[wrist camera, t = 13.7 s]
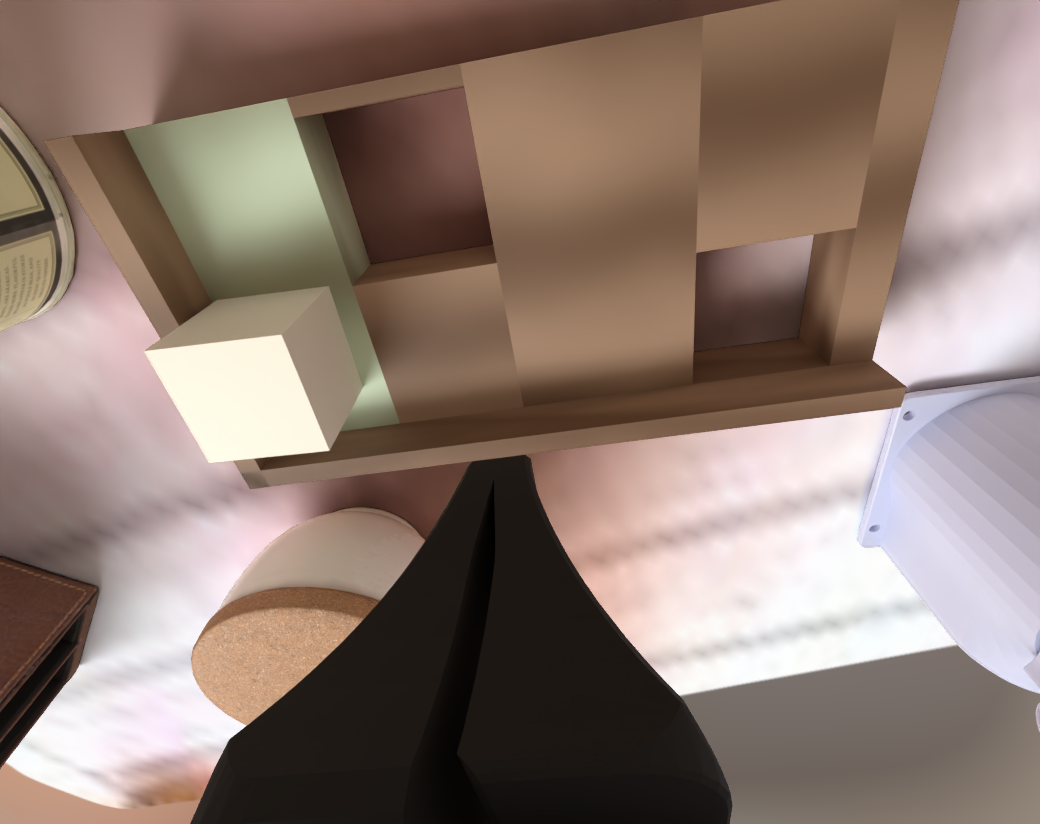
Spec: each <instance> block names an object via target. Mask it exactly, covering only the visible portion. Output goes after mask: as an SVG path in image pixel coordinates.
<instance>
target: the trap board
mask: <svg viewBox="0 0 1040 824" xmlns="http://www.w3.org/2000/svg"><path fill="white" fill-rule="evenodd" d="M958 4H959V0H780V1H775V2H770V3H765V4H759V5H754V6H749V7H744V8H739V9H734V10H729V11H724V12H719V13H714V14H709V15H704V16H699V17H694V18H689V19H684V20H679V21H673V22H668V23H663V24H658V25H653V26H648V27H643V28H638V29H633V30H628V31H623V32H618V33H613V34H608V35H603V36H598V37H592V38H587V39H582V40H577V41H572V42H567V43H562V44H557V45H552V46H547V47H542V48H537V49H532V50H527V51H522V52H517V53H512V54H506V55H501V56H496V57H491V58H486V59H481V60H476V61H471V62H466V63H461V64H456V65H451V66H446V67H441V68H436V69H431V70H425V71H420V72H415V73H410V74H405V75H400V76H395V77H390V78H385V79H380V80H375V81H370V82H365V83H360V84H355V85H350V86H345V87H339V88H334V89H329V90H324V91H319V92H314V93H309V94H304V95H299V96H294V97H289V98H284V99H279V100H274V101H269V102H264V103H258V104H253V105H248V106H243V107H238V108H233V109H228V110H223V111H218V112H213V113H208V114H203V115H198V116H193V117H188V118H183V119H178V120H172V121H167V122H162V123H157V124H152V125H147V126H142V127H137V128H132V129H127V130H121V131H111V132H102V133H93V134H84V135H75V136H68V137H63V138H58V139H53V140H48V141H44V143H45V145H46V146H47V148H48V150H49V152H50V153H51V155H52V157H53V158H54V160H55V162H56V163H57V165H58V167H59V168H60V170H61V172H62V173H63V175H64V177H65V178H66V180H67V182H68V183H69V185H70V187H71V189H72V190H73V192H74V194H75V195H76V197H77V199H78V200H79V202H80V204H81V205H82V207H83V209H84V210H85V212H86V214H87V215H88V217H89V219H90V221H91V222H92V224H93V226H94V227H95V229H96V231H97V232H98V234H99V236H100V237H101V239H102V241H103V242H104V244H105V246H106V247H107V249H108V251H109V252H110V254H111V256H112V258H113V259H114V261H115V263H116V264H117V266H118V268H119V269H120V271H121V273H122V274H123V276H124V278H125V279H126V281H127V283H128V284H129V286H130V288H131V289H132V291H133V293H134V295H135V296H136V298H137V300H138V301H139V303H140V305H141V306H142V308H143V310H144V311H145V313H146V315H147V316H148V318H149V320H150V321H151V323H152V325H153V326H154V328H155V330H156V332H157V333H158V335H159V337H160V338H161V339H162V338H163V337H165V336H166V335H168V334H169V333H171V332H172V331H173V330H175V329H176V328H178V327H179V326H181V325H182V324H183V323H185V322H186V321H188V320H189V319H191V318H192V317H193V316H195V315H196V314H198V313H199V312H201V311H202V310H203V309H205V308H206V307H208V306H209V305H211V304H212V303H213V302H215V301H216V300H222V299H230V298H238V297H246V296H254V295H262V294H269V293H277V292H285V291H293V290H301V289H309V288H317V287H325V286H329V289H330V292H331V294H332V297H333V300H334V303H335V306H336V309H337V312H338V315H339V318H340V321H341V324H342V327H343V330H344V333H345V336H346V338H347V341H348V344H349V347H350V350H351V353H352V356H353V359H354V362H355V365H356V368H357V371H358V374H359V377H360V380H361V383H362V385H363V389H362V390H361V392H360V394H359V396H358V398H357V400H356V402H355V404H354V406H353V407H352V409H351V411H350V413H349V415H348V417H347V419H346V421H345V423H344V424H343V426H342V428H341V430H340V432H339V434H338V436H337V438H336V440H335V442H334V443H333V445H332V447H331V449H330V451H323V452H313V453H303V454H293V455H283V456H274V457H264V458H254V459H244V460H234V463H235V464H236V466H237V468H238V469H239V471H240V473H241V475H242V476H243V478H244V480H245V481H246V483H247V485H248V486H249V488H250V489H255V488H263V487H271V486H279V485H286V484H294V483H302V482H310V481H318V480H326V479H334V478H342V477H350V476H358V475H366V474H374V473H382V472H390V471H398V470H406V469H414V468H422V467H430V466H438V465H446V464H454V463H462V462H469V461H477V460H485V459H493V458H501V457H509V456H517V455H525V454H533V453H541V452H549V451H557V450H565V449H573V448H581V447H589V446H597V445H605V444H613V443H621V442H629V441H637V440H644V439H652V438H660V437H668V436H676V435H684V434H692V433H700V432H708V431H716V430H724V429H732V428H740V427H748V426H756V425H764V424H772V423H780V422H788V421H796V420H804V419H812V418H819V417H827V416H835V415H843V414H851V413H859V412H867V411H875V410H883V409H891V408H899V407H901V406H902V402H903V399H904V396H905V392H906V389H907V387H906V386H905V385H903V384H902V383H901V382H899V381H898V380H897V379H896V378H894V377H893V376H892V375H891V374H889V373H888V372H887V371H885V370H884V369H883V368H882V367H880V366H879V365H878V364H876V363H875V362H874V361H873V360H872V358H873V354H874V350H875V346H876V342H877V338H878V334H879V330H880V325H881V321H882V317H883V313H884V309H885V305H886V301H887V297H888V292H889V288H890V284H891V280H892V276H893V272H894V268H895V264H896V259H897V255H898V251H899V247H900V243H901V239H902V235H903V231H904V226H905V222H906V218H907V214H908V210H909V206H910V202H911V198H912V193H913V189H914V185H915V181H916V177H917V173H918V169H919V164H920V160H921V156H922V152H923V148H924V144H925V140H926V136H927V131H928V127H929V123H930V119H931V115H932V111H933V107H934V103H935V98H936V94H937V90H938V86H939V82H940V78H941V74H942V70H943V65H944V61H945V57H946V53H947V49H948V45H949V41H950V37H951V32H952V28H953V24H954V20H955V16H956V12H957V8H958ZM461 87H464V89H465V94H466V99H467V105H468V110H469V116H470V121H471V126H472V132H473V137H474V143H475V148H476V153H477V159H478V164H479V170H480V175H481V180H482V186H483V191H484V196H485V202H486V207H487V213H488V218H489V223H490V229H491V234H492V240H493V244H492V245H486V246H480V247H474V248H468V249H462V250H456V251H450V252H444V253H438V254H431V255H425V256H419V257H413V258H407V259H401V260H395V261H389V262H383V263H377V264H370V261H369V258H368V255H367V251H366V248H365V245H364V242H363V239H362V236H361V233H360V230H359V227H358V223H357V220H356V217H355V214H354V211H353V208H352V205H351V202H350V199H349V195H348V192H347V189H346V186H345V183H344V180H343V177H342V174H341V171H340V167H339V164H338V161H337V158H336V155H335V152H334V149H333V146H332V143H331V139H330V136H329V133H328V130H327V127H326V124H325V121H324V118H323V115H322V114H326V113H332V112H337V111H342V110H347V109H352V108H357V107H363V106H368V105H373V104H378V103H383V102H389V101H394V100H399V99H404V98H409V97H414V96H420V95H425V94H430V93H435V92H440V91H445V90H451V89H456V88H461ZM813 234H814V239H813V245H812V252H811V259H810V265H809V272H808V279H807V285H806V292H805V299H804V305H803V312H802V319H801V325H800V332H799V338H793V339H785V340H778V341H771V342H764V343H757V344H750V345H742V346H735V347H728V348H721V349H714V350H707V351H700V352H693V351H694V316H695V280H696V253H698V252H704V251H711V250H717V249H723V248H730V247H736V246H743V245H749V244H755V243H762V242H768V241H774V240H781V239H787V238H794V237H800V236H806V235H813Z"/></svg>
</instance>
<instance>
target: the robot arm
mask: <svg viewBox="0 0 1040 824" xmlns="http://www.w3.org/2000/svg"><path fill="white" fill-rule="evenodd" d="M908 411H909V413H907V412H908ZM905 413H907V414H906V415H904V414H905ZM857 541H858V542H859V544H860V545H861V546H862V547H864V548H871V547H881V548H882V549H883V551H884V552H885V553H886V554H887V556H888V557H889V558H890V559H891V561H892V562H893V563H894V565H895V566H896V567H897V568H898V570H899V571H900V572H901V574H902V575H903V576H904V577H905V579H906V580H907V581H908V583H909V584H910V585H911V586H912V588H913V589H914V590H915V592H916V593H917V594H918V595H919V597H920V598H921V599H922V601H923V602H924V603H925V604H926V606H927V607H928V608H929V610H930V611H931V612H932V613H933V615H934V616H935V617H936V619H937V620H938V621H939V622H940V624H941V625H942V626H943V627H944V629H945V630H946V631H947V633H948V634H949V635H950V636H951V638H952V639H953V640H954V641H955V642H956V643H957V644H958V646H959V647H960V648H961V649H963V651H965V652H966V653H967V654H968V655H969V656H970V657H971V658H973V659H974V660H975V661H977V662H978V663H979V664H981V665H982V666H983V667H985V668H986V669H988V670H990V671H991V672H993V673H994V674H996V675H998V676H999V677H1001V678H1003V679H1005V680H1007V681H1008V682H1010V683H1013V684H1015V685H1017V686H1019V687H1022V688H1024V689H1027V690H1030V691H1033V692H1037V693H1040V376H1034V377H1026V378H1019V379H1011V380H1003V381H995V382H987V383H980V384H972V385H964V386H956V387H948V388H940V389H933V390H925V391H917V392H910V393H906V394H905V396H904V399H903V402H902V406H901V407H899V408H894V410H893V413H892V417H891V420H890V424H889V427H888V431H887V434H886V438H885V441H884V445H883V448H882V452H881V455H880V459H879V462H878V466H877V469H876V473H875V476H874V480H873V483H872V487H871V490H870V494H869V497H868V501H867V504H866V508H865V511H864V515H863V519H862V522H861V526H860V529H859V533H858V536H857ZM1036 721H1037V726H1038V729H1039V732H1040V703H1039V704H1038V705H1037V709H1036ZM731 811H732V800H731V794H730V790H729V787H728V784H727V782H726V779H725V777H724V774H723V772H722V770H721V767H720V766H719V763H718V761H717V759H716V757H715V755H714V753H713V751H712V749H711V747H710V745H709V744H708V742H707V740H706V738H705V736H704V734H703V733H702V731H701V729H700V728H699V726H698V724H697V722H696V721H695V719H694V717H693V716H692V714H691V712H690V711H689V709H688V707H687V705H686V704H685V702H684V701H683V699H682V698H681V697H680V696H679V695H678V694H677V693H676V692H675V691H674V690H673V689H672V688H671V687H670V686H669V685H668V684H667V683H666V682H665V681H664V680H663V679H662V677H661V676H660V675H659V674H658V673H657V672H656V671H655V670H654V669H653V668H652V667H651V666H650V664H649V663H648V662H647V661H646V660H645V659H644V658H643V657H642V655H641V654H640V653H639V652H638V651H637V650H636V648H635V647H634V646H633V645H632V644H631V643H630V642H629V640H628V639H627V638H626V637H625V636H624V634H623V633H622V632H621V630H620V629H619V628H618V627H617V625H616V624H615V623H614V622H613V620H612V619H611V618H610V616H609V615H608V614H607V613H606V611H605V610H604V609H603V607H602V606H601V605H600V604H599V602H598V601H597V600H596V598H595V597H594V595H593V594H592V592H591V591H590V589H589V588H588V587H587V585H586V584H585V582H584V581H583V579H582V578H581V576H580V575H579V573H578V571H577V570H576V568H575V567H574V565H573V564H572V562H571V560H570V559H569V557H568V555H567V553H566V552H565V550H564V548H563V546H562V545H561V543H560V541H559V539H558V537H557V535H556V533H555V531H554V529H553V527H552V525H551V523H550V521H549V519H548V517H547V515H546V512H545V510H544V508H543V506H542V503H541V501H540V498H539V496H538V493H537V490H536V484H535V479H534V474H533V469H532V463H531V459H530V458H529V457H527V456H526V455H521V456H513V457H505V458H497V459H489V460H481V461H473V462H472V463H471V464H470V465H469V466H468V468H467V470H466V472H465V474H464V476H463V478H462V480H461V482H460V483H459V485H458V487H457V489H456V491H455V493H454V494H453V496H452V498H451V500H450V502H449V503H448V505H447V507H446V508H445V510H444V512H443V513H442V515H441V517H440V518H439V520H438V522H437V523H436V525H435V527H434V528H433V530H432V531H431V533H430V534H429V536H428V537H427V539H426V540H425V542H424V543H423V545H422V546H421V548H420V549H419V550H418V552H417V553H416V555H415V556H414V558H413V559H412V561H411V562H410V563H409V565H408V566H407V567H406V569H405V570H404V571H403V573H402V574H401V575H400V577H399V578H398V579H397V581H396V582H395V583H394V584H393V586H392V587H391V588H390V589H389V590H388V592H387V593H386V594H385V595H384V597H383V598H382V599H381V600H380V601H379V603H378V604H377V605H376V606H375V607H374V608H373V609H372V610H371V611H370V613H369V614H368V615H367V616H366V617H365V618H364V619H363V620H362V621H361V623H360V624H359V625H358V626H357V627H356V628H355V629H354V630H353V631H352V632H351V633H350V634H349V635H348V636H347V638H346V639H345V640H344V641H343V642H342V643H341V644H340V645H339V646H338V647H336V648H335V649H334V650H333V651H332V652H331V653H330V654H329V655H328V656H327V657H326V658H325V659H324V660H323V661H322V662H321V663H320V664H319V665H318V666H316V667H315V668H314V669H313V670H312V671H311V672H310V673H309V674H308V675H307V676H306V677H304V678H303V679H302V680H301V681H300V682H299V683H298V684H297V685H295V686H294V687H293V688H292V689H291V690H290V691H289V692H287V693H286V694H285V695H284V696H283V697H281V698H280V699H279V700H278V701H277V702H275V703H274V704H273V705H272V706H270V707H269V708H268V709H267V710H265V711H264V712H263V713H262V714H261V715H259V716H258V717H257V718H256V719H254V720H253V721H252V722H251V723H250V724H248V725H247V726H246V727H245V728H243V729H242V730H241V731H240V732H238V733H237V734H236V735H234V736H233V737H232V738H231V739H230V740H229V741H228V743H227V745H226V747H225V749H224V751H223V753H222V755H221V757H220V759H219V761H218V763H217V765H216V767H215V769H214V771H213V773H212V775H211V778H210V780H209V782H208V785H207V787H206V789H205V791H204V794H203V796H202V798H201V801H200V803H199V805H198V808H197V810H196V812H195V814H194V817H193V819H192V821H191V823H190V824H730V817H731Z"/></svg>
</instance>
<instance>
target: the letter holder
mask: <svg viewBox="0 0 1040 824" xmlns="http://www.w3.org/2000/svg"><path fill="white" fill-rule="evenodd" d="M97 597H98V587H97V586H94V585H89V584H86V583H83V582H80V581H76V580H73V579H70V578H67V577H64V576H61V575H58V574H55V573H51V572H48V571H45V570H42V569H39V568H36V567H33V566H30V565H27V564H24V563H21V562H17V561H14V560H11V559H8V558H5V557H2V556H0V768H1V767H2V766H3V765H4V763H5V762H6V761H7V759H8V758H9V757H10V755H11V754H12V753H13V751H14V750H15V749H16V748H17V746H18V745H19V744H20V742H21V741H22V740H23V738H24V737H25V736H26V734H27V733H28V732H29V731H30V729H31V728H32V727H33V725H34V724H35V723H36V722H37V720H38V719H39V718H40V716H41V715H42V714H43V713H44V711H45V710H46V709H47V707H48V706H49V705H50V703H51V702H52V701H53V699H54V698H55V697H56V696H57V694H58V693H59V692H60V690H61V689H62V688H63V686H64V685H65V684H66V683H67V682H68V681H69V680H70V679H71V678H72V676H73V675H74V673H75V672H76V670H77V668H78V666H79V662H80V658H81V654H82V651H83V647H84V643H85V640H86V637H87V633H88V629H89V626H90V623H91V619H92V616H93V613H94V609H95V605H96V601H97Z"/></svg>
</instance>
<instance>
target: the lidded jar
mask: <svg viewBox="0 0 1040 824" xmlns="http://www.w3.org/2000/svg"><path fill="white" fill-rule="evenodd" d="M424 542H425V540H424V539H423V538H422V537H421V536H420V534H419V533H418V531H417V530H416V529H415V528H414V527H413V526H412V525H411V524H409V523H408V522H407V521H405V520H404V519H402V518H400V517H399V516H397V515H394V514H392V513H390V512H387V511H384V510H380V509H375V508H367V507H352V508H346V509H342V510H338V511H335V512H333V513H328V514H324V515H320V516H317V517H313V518H310V519H308V520H306V521H304V522H302V523H300V524H298V525H296V526H293V527H291V528H290V529H288V530H287V531H285V532H284V533H283V534H281V535H280V536H279V537H277V538H276V539H274V540H273V541H272V542H270V543H269V544H268V545H267V546H266V547H265V548H264V549H263V550H262V551H261V552H260V553H259V554H258V556H257V557H256V558H255V559H254V560H253V561H252V562H251V563H250V564H249V565H248V567H247V568H246V569H245V570H244V572H243V573H242V574H241V576H240V577H239V578H238V579H237V581H236V582H235V584H234V585H233V587H232V588H231V590H230V592H229V593H228V595H227V596H226V598H225V599H224V601H223V603H222V605H221V606H220V608H219V610H218V612H217V613H216V614H215V615H214V616H213V617H212V618H211V619H210V620H209V622H208V623H207V624H206V626H205V628H204V629H203V631H202V633H201V634H200V636H199V638H198V640H197V642H196V644H195V646H194V648H193V652H192V658H191V662H192V670H193V675H194V677H195V680H196V682H197V684H198V686H199V687H200V689H201V690H202V692H203V693H204V695H205V696H206V697H207V698H208V699H209V700H210V701H211V702H212V703H213V704H215V705H216V706H217V707H218V708H219V709H221V710H222V711H223V712H225V713H226V714H227V715H229V716H231V717H232V718H234V719H236V720H238V721H239V722H241V723H243V724H245V725H248V724H250V723H251V722H252V721H253V720H254V719H256V718H257V717H258V716H259V715H261V714H262V713H263V712H264V711H265V710H267V709H268V708H269V707H270V706H272V705H273V704H274V703H275V702H277V701H278V700H279V699H280V698H281V697H283V696H284V695H285V694H286V693H287V692H289V691H290V690H291V689H292V688H293V687H294V686H295V685H297V684H298V683H299V682H300V681H301V680H302V679H303V678H304V677H306V676H307V675H308V674H309V673H310V672H311V671H312V670H313V669H314V668H315V667H316V666H318V665H319V664H320V663H321V662H322V661H323V660H324V659H325V658H326V657H327V656H328V655H329V654H330V653H331V652H332V651H333V650H334V649H335V648H336V647H338V646H339V645H340V644H341V643H342V642H343V641H344V640H345V639H346V638H347V636H348V635H349V634H350V633H351V632H352V631H353V630H354V629H355V628H356V627H357V626H358V625H359V624H360V623H361V621H362V620H363V619H364V618H365V617H366V616H367V615H368V614H369V613H370V611H371V610H372V609H373V608H374V607H375V606H376V605H377V604H378V603H379V601H380V600H381V599H382V598H383V597H384V595H385V594H386V593H387V592H388V590H389V589H390V588H391V587H392V586H393V584H394V583H395V582H396V581H397V579H398V578H399V577H400V575H401V574H402V573H403V571H404V570H405V569H406V567H407V566H408V565H409V563H410V562H411V561H412V559H413V558H414V556H415V555H416V553H417V552H418V550H419V549H420V548H421V546H422V545H423V543H424Z"/></svg>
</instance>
